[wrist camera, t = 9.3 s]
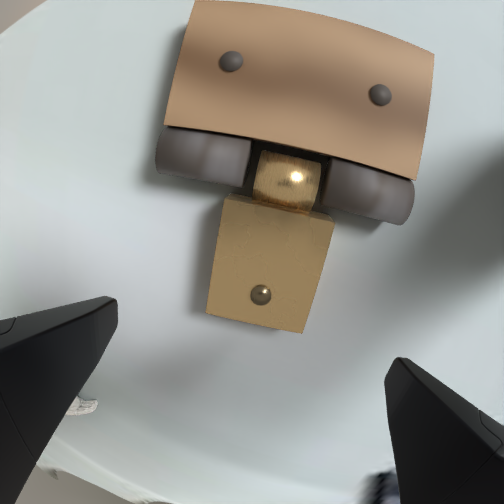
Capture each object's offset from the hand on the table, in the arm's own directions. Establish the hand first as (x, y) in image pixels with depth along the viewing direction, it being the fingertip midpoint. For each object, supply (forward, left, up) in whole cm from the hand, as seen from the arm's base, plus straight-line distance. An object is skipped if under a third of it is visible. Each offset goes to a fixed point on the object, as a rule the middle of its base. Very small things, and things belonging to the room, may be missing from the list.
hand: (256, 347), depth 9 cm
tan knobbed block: (0, -1, -11) cm, 11 cm away
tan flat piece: (0, -9, -11) cm, 14 cm away
